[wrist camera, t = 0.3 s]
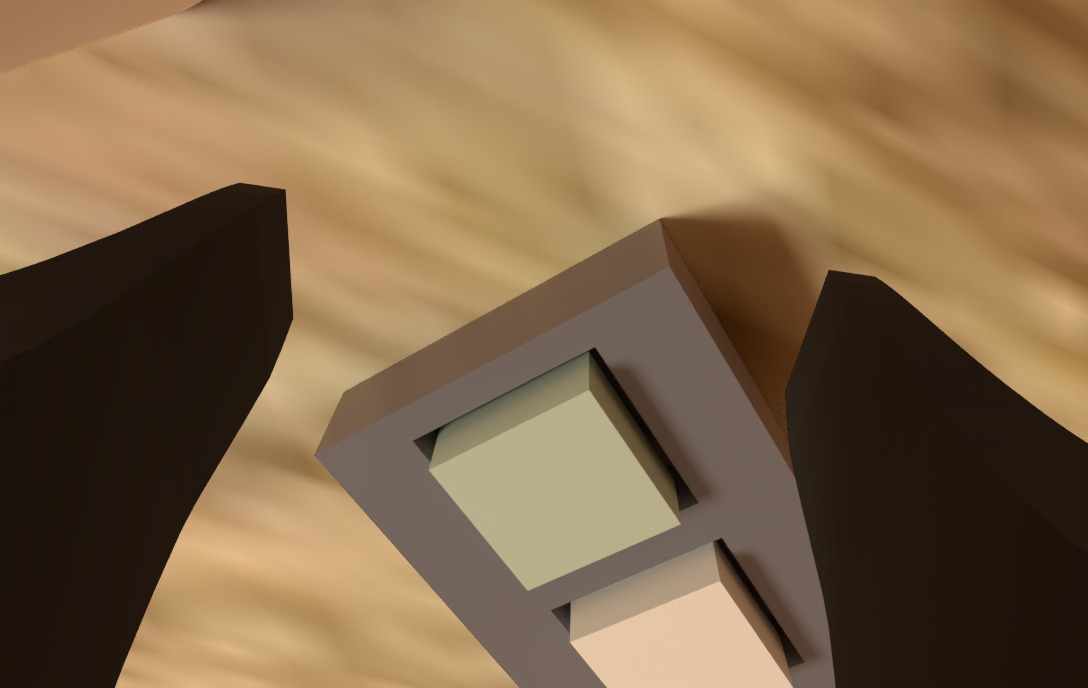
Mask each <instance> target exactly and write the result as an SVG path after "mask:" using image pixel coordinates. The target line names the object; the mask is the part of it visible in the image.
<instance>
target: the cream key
mask: <svg viewBox="0 0 1088 688" xmlns="http://www.w3.org/2000/svg"><path fill="white" fill-rule="evenodd" d="M570 643H571V644H572V646H573V647H574V648H575V649H576V650H577V652H578V653H579V654H580V655H581V657H582V658H583V659H584V660H585V661H586V663H587V664H588V665H589V666H590V668H591V669H592V670H593V671H594V672H595V674H596V675H597V676H598V677H599V679H600V680H601V681H602V682H603V683H604V685H605V686H606V687H607V688H793V685H792V681H791V677H790V674H789V670H788V666H787V662H786V658H785V654H784V650H783V646H782V642H781V638H780V636H779V634H778V633H777V631H776V630H775V628H774V627H773V625H772V624H771V622H770V621H769V619H768V618H767V616H766V615H765V613H764V612H763V610H762V609H761V607H760V606H759V604H758V603H757V601H756V600H755V598H754V597H753V595H752V594H751V592H750V591H749V589H748V588H747V586H746V585H745V583H744V582H743V580H742V579H741V577H740V576H739V574H738V573H737V571H736V570H735V569H734V567H733V566H732V564H731V563H730V561H729V560H728V558H727V557H726V555H725V554H724V552H723V551H722V549H721V548H720V546H719V545H718V543H717V542H716V540H715V541H713V542H711V543H708V544H706V545H703V546H701V547H699V548H696V549H694V550H692V551H689V552H687V553H685V554H682V555H680V556H677V557H675V558H673V559H670V560H668V561H666V562H663V563H661V564H659V565H656V566H654V567H652V568H649V569H647V570H644V571H642V572H640V573H637V574H635V575H633V576H630V577H628V578H626V579H623V580H621V581H618V582H616V583H614V584H611V585H609V586H607V587H604V588H602V589H600V590H597V591H595V592H593V593H590V594H588V595H585V596H583V597H581V598H578V599H576V600H574V601H571V616H570Z"/></svg>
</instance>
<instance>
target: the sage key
mask: <svg viewBox="0 0 1088 688" xmlns="http://www.w3.org/2000/svg"><path fill="white" fill-rule="evenodd" d="M429 471H430V472H431V473H432V475H433V476H434V477H435V478H436V480H437V481H438V482H439V483H440V484H441V486H442V487H443V488H444V489H445V491H446V492H447V493H448V494H449V495H450V497H451V498H452V499H453V500H454V502H455V503H456V504H457V505H458V506H459V508H460V509H461V510H462V511H463V513H464V514H465V515H466V516H467V517H468V519H469V520H470V521H471V522H472V524H473V525H474V526H475V527H476V528H477V530H478V531H479V532H480V533H481V535H482V536H483V537H484V538H485V539H486V541H487V542H488V543H489V544H490V546H491V547H492V548H493V549H494V550H495V552H496V553H497V554H498V555H499V556H500V558H501V559H502V560H503V561H504V563H505V564H506V565H507V566H508V567H509V569H510V570H511V571H512V572H513V574H514V575H515V576H516V577H517V578H518V580H519V581H520V582H521V583H522V585H523V586H524V587H525V588H526V589H527V591H529V590H531V589H533V588H536V587H538V586H540V585H543V584H545V583H547V582H549V581H552V580H554V579H556V578H559V577H561V576H563V575H566V574H568V573H570V572H572V571H575V570H577V569H579V568H582V567H584V566H586V565H589V564H591V563H593V562H595V561H598V560H600V559H602V558H605V557H607V556H609V555H612V554H614V553H616V552H618V551H621V550H623V549H625V548H628V547H630V546H632V545H635V544H637V543H639V542H641V541H644V540H646V539H648V538H651V537H653V536H655V535H658V534H660V533H662V532H664V531H667V530H669V529H671V528H674V527H676V526H678V525H681V520H680V513H679V506H678V499H677V493H676V486H675V479H674V477H673V476H672V474H671V473H670V471H669V470H668V468H667V467H666V466H665V464H664V463H663V461H662V460H661V458H660V457H659V455H658V454H657V452H656V451H655V449H654V448H653V446H652V445H651V443H650V442H649V440H648V439H647V437H646V436H645V434H644V433H643V431H642V430H641V428H640V427H639V425H638V424H637V422H636V421H635V419H634V418H633V416H632V415H631V413H630V412H629V410H628V409H627V407H626V406H625V404H624V403H623V401H622V400H621V398H620V397H619V395H618V394H617V392H616V391H615V389H614V388H613V386H612V385H611V383H610V382H609V380H608V379H607V377H606V376H605V374H604V373H603V371H602V370H601V368H600V367H599V365H598V364H597V362H596V361H595V360H594V358H593V357H592V355H591V354H590V352H589V351H588V352H586V353H584V354H582V355H580V356H578V357H576V358H574V359H573V360H571V361H569V362H567V363H565V364H563V365H561V366H559V367H557V368H555V369H553V370H551V371H549V372H547V373H545V374H543V375H541V376H539V377H538V378H536V379H534V380H532V381H530V382H528V383H526V384H524V385H522V386H520V387H518V388H516V389H514V390H512V391H510V392H508V393H506V394H505V395H503V396H501V397H499V398H497V399H495V400H493V401H491V402H489V403H487V404H485V405H483V406H481V407H479V408H477V409H475V410H473V411H471V412H470V413H468V414H466V415H464V416H462V417H460V418H458V419H456V420H454V421H452V422H450V423H448V424H446V425H444V426H442V427H440V429H439V433H438V437H437V441H436V444H435V448H434V452H433V456H432V459H431V463H430V467H429Z"/></svg>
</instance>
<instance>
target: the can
mask: <svg viewBox="0 0 1088 688" xmlns="http://www.w3.org/2000/svg"><path fill="white" fill-rule="evenodd" d="M200 1H202V0H0V75H1V74H4V73H6V72H9V71H12V70H15V69H18V68H21V67H24V66H27V65H30V64H33V63H36V62H39V61H42V60H45V59H48V58H51V57H54V56H57V55H60V54H63V53H66V52H69V51H71V50H74V49H77V48H80V47H83V46H86V45H89V44H92V43H95V42H98V41H101V40H104V39H107V38H110V37H112V36H115V35H118V34H121V33H124V32H127V31H130V30H133V29H135V28H138V27H141V26H144V25H147V24H150V23H152V22H155V21H158V20H161V19H163V18H166V17H169V16H172V15H174V14H176V13H179V12H181V11H184V10H186V9H188V8H190V7H192V6H194V5H195V4H197V3H199V2H200Z"/></svg>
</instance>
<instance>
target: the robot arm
mask: <svg viewBox="0 0 1088 688" xmlns="http://www.w3.org/2000/svg"><path fill="white" fill-rule="evenodd" d="M292 320H293V307H292V290H291V274H290V257H289V240H288V224H287V207H286V190H285V189H278V188H272V187H265V186H258V185H251V184H245V183H237V184H234V185H230V186H227V187H224V188H221V189H219V190H216V191H214V192H211V193H209V194H206V195H204V196H201V197H199V198H197V199H194V200H192V201H190V202H187V203H185V204H183V205H180V206H178V207H176V208H173V209H171V210H169V211H167V212H164V213H162V214H160V215H157V216H155V217H153V218H150V219H148V220H146V221H143V222H141V223H139V224H136V225H134V226H132V227H130V228H127V229H125V230H123V231H120V232H118V233H115V234H113V235H110V236H108V237H105V238H102V239H100V240H97V241H95V242H92V243H89V244H87V245H84V246H82V247H79V248H77V249H74V250H71V251H69V252H66V253H64V254H61V255H58V256H56V257H53V258H51V259H48V260H45V261H42V262H39V263H37V264H34V265H31V266H28V267H25V268H22V269H18V270H15V271H12V272H9V273H6V274H3V275H0V688H115V686H116V683H117V680H118V678H119V675H120V673H121V670H122V667H123V665H124V662H125V660H126V657H127V655H128V653H129V650H130V648H131V645H132V643H133V641H134V638H135V636H136V633H137V631H138V629H139V626H140V624H141V621H142V619H143V617H144V614H145V612H146V609H147V607H148V604H149V602H150V600H151V597H152V595H153V593H154V590H155V588H156V586H157V584H158V581H159V579H160V577H161V575H162V572H163V570H164V568H165V566H166V563H167V561H168V559H169V557H170V554H171V552H172V550H173V548H174V545H175V543H176V541H177V539H178V536H179V534H180V532H181V530H182V528H183V526H184V524H185V522H186V520H187V519H188V517H189V515H190V513H191V511H192V509H193V507H194V505H195V504H196V502H197V500H198V498H199V497H200V495H201V493H202V491H203V490H204V488H205V486H206V485H207V483H208V481H209V480H210V478H211V476H212V475H213V473H214V471H215V470H216V468H217V466H218V465H219V463H220V461H221V460H222V458H223V456H224V455H225V453H226V451H227V450H228V448H229V446H230V444H231V443H232V441H233V439H234V438H235V436H236V434H237V433H238V431H239V429H240V428H241V426H242V424H243V423H244V421H245V419H246V418H247V416H248V414H249V412H250V411H251V409H252V407H253V406H254V404H255V402H256V400H257V399H258V397H259V395H260V394H261V392H262V390H263V388H264V387H265V385H266V383H267V381H268V379H269V378H270V376H271V373H272V371H273V368H274V366H275V364H276V361H277V359H278V357H279V354H280V352H281V349H282V347H283V344H284V341H285V339H286V336H287V333H288V331H289V328H290V326H291V323H292ZM785 398H786V414H787V429H788V440H789V451H790V457H791V462H792V466H793V471H794V475H795V480H796V484H797V489H798V493H799V497H800V502H801V506H802V510H803V514H804V519H805V523H806V527H807V531H808V535H809V540H810V544H811V548H812V552H813V556H814V561H815V565H816V569H817V573H818V577H819V582H820V586H821V590H822V594H823V600H824V605H825V610H826V616H827V621H828V627H829V635H830V643H831V652H832V661H833V669H834V678H835V686H836V688H1088V443H1087V442H1085V441H1083V440H1082V439H1080V438H1079V437H1077V436H1076V435H1074V434H1073V433H1071V432H1070V431H1068V430H1067V429H1065V428H1064V427H1063V426H1061V425H1060V424H1058V423H1057V422H1055V421H1054V420H1053V419H1051V418H1050V417H1048V416H1047V415H1046V414H1044V413H1043V412H1042V411H1040V410H1039V409H1038V408H1036V407H1035V406H1034V405H1032V404H1031V403H1030V402H1028V401H1027V400H1026V399H1024V398H1023V397H1022V396H1021V395H1019V394H1018V393H1017V392H1015V391H1014V390H1013V389H1011V388H1010V387H1009V386H1007V385H1006V384H1005V383H1004V382H1002V381H1001V380H1000V379H999V378H997V377H996V376H995V375H994V374H992V373H991V372H990V371H989V370H987V369H986V368H985V367H984V366H983V365H981V364H980V363H979V362H978V361H977V360H975V359H974V358H973V357H972V356H971V355H969V354H968V353H967V352H966V351H965V350H964V349H962V348H961V347H960V346H959V345H958V344H956V343H955V342H954V341H953V340H952V339H951V338H950V337H948V336H947V335H946V334H945V333H944V332H943V331H941V330H940V329H939V328H938V327H937V326H936V325H935V324H933V323H932V322H931V321H930V320H929V319H928V318H926V317H925V316H924V315H923V314H922V313H921V312H920V311H918V310H917V309H916V308H915V307H914V306H913V305H911V304H910V303H909V302H908V301H907V300H905V299H904V298H903V297H902V296H901V295H899V294H898V293H897V292H896V291H894V290H893V289H892V288H891V287H889V286H888V285H887V284H885V283H884V282H882V281H881V280H879V279H878V278H876V277H873V276H867V275H860V274H853V273H846V272H840V271H833V270H829V271H828V274H827V277H826V279H825V282H824V285H823V288H822V290H821V293H820V296H819V299H818V301H817V304H816V307H815V310H814V313H813V315H812V318H811V321H810V324H809V326H808V329H807V332H806V335H805V337H804V340H803V343H802V346H801V349H800V351H799V354H798V357H797V360H796V362H795V365H794V368H793V371H792V374H791V376H790V379H789V382H788V385H787V387H786V390H785Z"/></svg>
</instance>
